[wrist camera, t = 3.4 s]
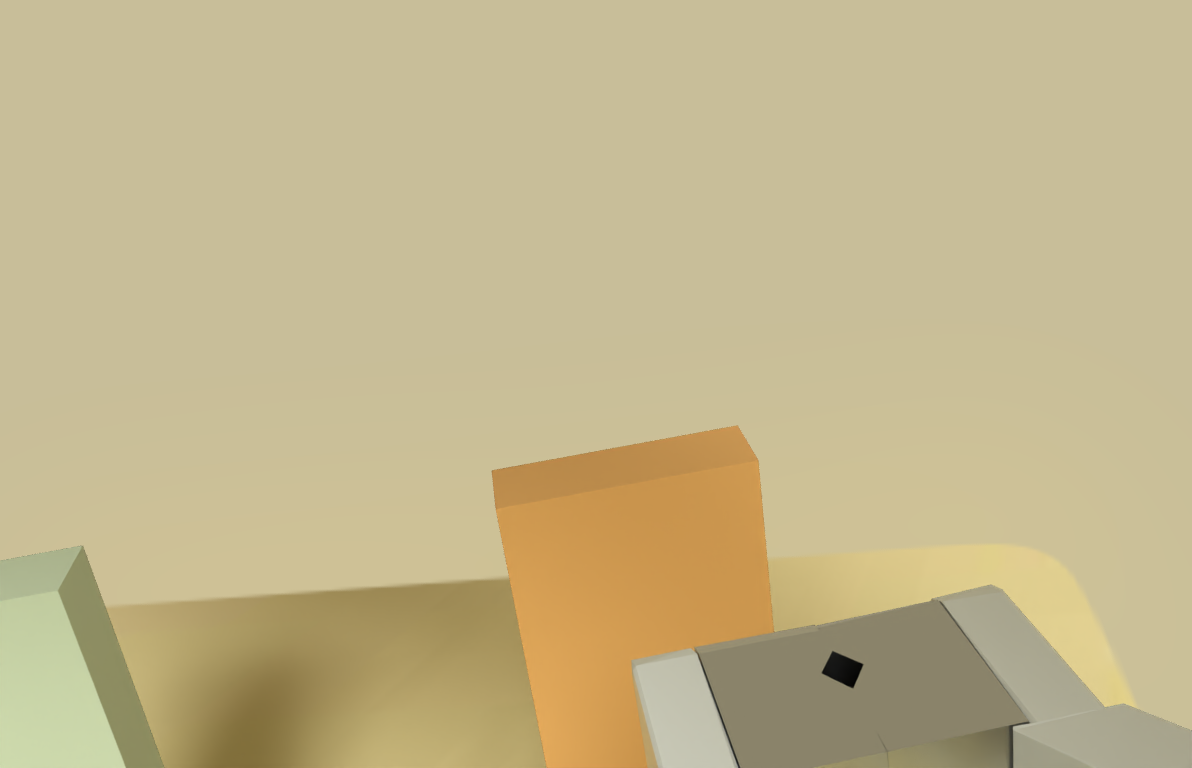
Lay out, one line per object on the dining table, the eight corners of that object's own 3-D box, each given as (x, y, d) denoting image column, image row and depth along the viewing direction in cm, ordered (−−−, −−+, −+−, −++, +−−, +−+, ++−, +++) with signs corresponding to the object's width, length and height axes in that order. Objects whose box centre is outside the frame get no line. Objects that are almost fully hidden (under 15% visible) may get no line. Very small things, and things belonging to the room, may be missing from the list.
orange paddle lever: (589, 1008, 26) (490, 510, 21) (581, 950, 28) (486, 471, 23) (807, 961, 27) (763, 459, 21) (788, 906, 28) (742, 424, 23)
